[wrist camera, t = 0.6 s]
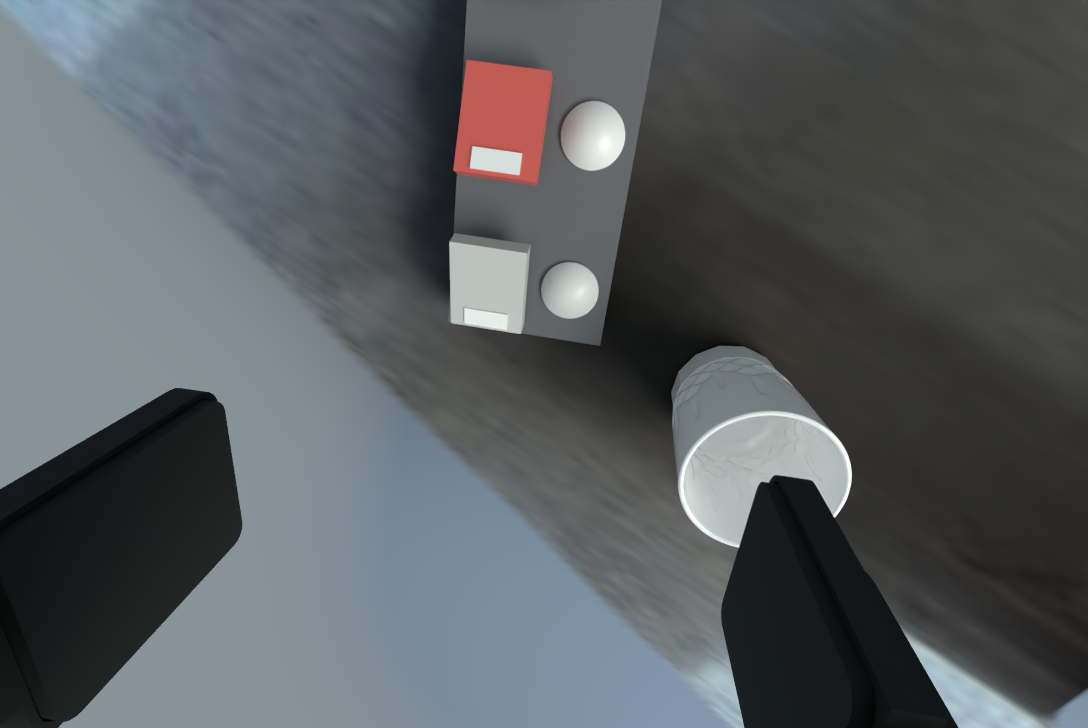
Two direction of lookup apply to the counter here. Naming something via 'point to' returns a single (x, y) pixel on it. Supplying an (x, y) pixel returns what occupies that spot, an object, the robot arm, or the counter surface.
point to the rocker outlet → (488, 282)
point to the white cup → (746, 439)
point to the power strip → (565, 149)
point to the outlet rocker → (502, 122)
